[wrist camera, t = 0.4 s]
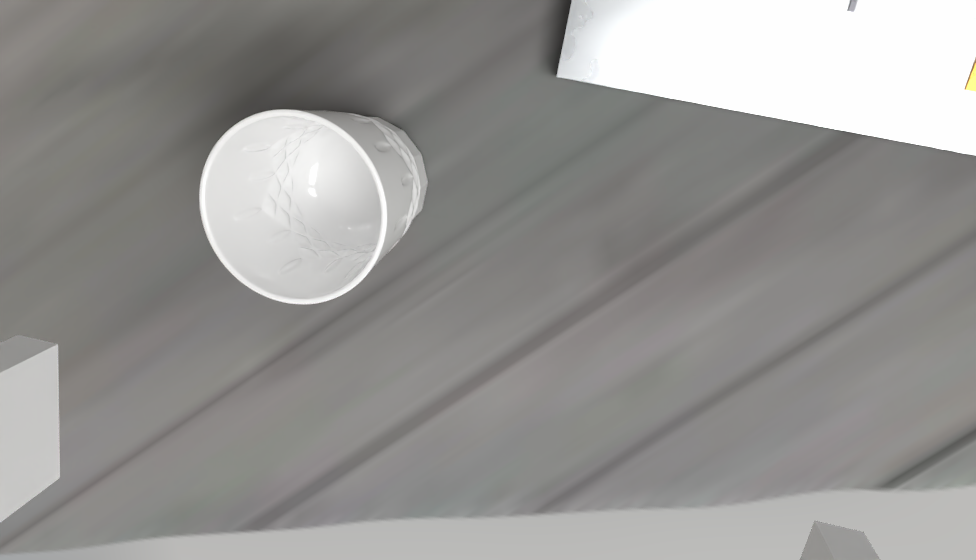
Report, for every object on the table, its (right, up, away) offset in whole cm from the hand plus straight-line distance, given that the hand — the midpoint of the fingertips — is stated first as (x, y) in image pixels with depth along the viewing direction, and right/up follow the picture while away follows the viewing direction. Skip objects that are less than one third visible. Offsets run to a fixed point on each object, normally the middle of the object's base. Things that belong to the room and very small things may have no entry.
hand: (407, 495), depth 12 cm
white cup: (-5, +9, +26) cm, 28 cm away
